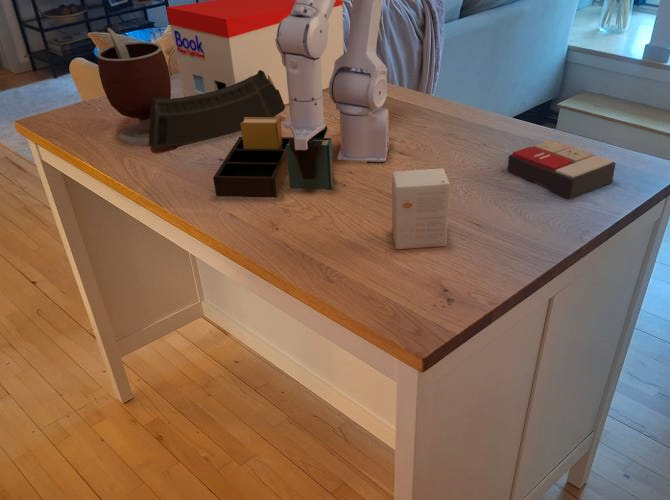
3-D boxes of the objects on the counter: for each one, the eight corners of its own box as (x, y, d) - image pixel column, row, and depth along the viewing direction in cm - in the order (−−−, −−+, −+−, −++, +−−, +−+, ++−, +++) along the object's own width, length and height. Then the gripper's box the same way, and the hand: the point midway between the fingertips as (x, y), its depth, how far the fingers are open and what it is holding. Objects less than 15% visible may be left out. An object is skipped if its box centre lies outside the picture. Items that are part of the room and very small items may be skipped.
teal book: (333, 183, 120) (331, 137, 115) (331, 191, 118) (328, 145, 112) (293, 182, 121) (289, 137, 116) (290, 190, 119) (285, 145, 113)
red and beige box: (551, 136, 123) (617, 158, 112) (548, 159, 126) (613, 182, 115) (507, 151, 119) (572, 175, 108) (505, 174, 121) (568, 199, 111)
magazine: (132, 113, 127) (260, 38, 132) (127, 108, 129) (253, 35, 135) (174, 185, 140) (289, 114, 145) (168, 180, 142) (282, 110, 147)
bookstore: (183, 103, 158) (165, 7, 144) (288, 67, 177) (281, -21, 163) (239, 122, 146) (225, 19, 133) (345, 81, 165) (342, -13, 152)
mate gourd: (192, 134, 142) (173, 34, 129) (133, 152, 136) (107, 48, 123) (159, 116, 152) (139, 21, 139) (103, 132, 145) (76, 34, 133)
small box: (441, 229, 105) (445, 167, 99) (446, 247, 101) (451, 183, 94) (391, 232, 105) (391, 170, 99) (394, 250, 101) (395, 186, 94)
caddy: (296, 156, 130) (294, 137, 128) (277, 199, 116) (274, 178, 114) (242, 156, 132) (239, 136, 129) (216, 198, 118) (212, 177, 115)
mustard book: (284, 158, 129) (280, 117, 124) (281, 164, 127) (276, 123, 121) (249, 157, 130) (244, 117, 125) (245, 163, 127) (240, 122, 122)
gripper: (290, 82, 115) (296, 156, 124) (273, 111, 104) (281, 190, 113) (330, 82, 114) (333, 157, 123) (316, 111, 103) (321, 191, 112)
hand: (311, 173), depth 118 cm, fingers closed on teal book, 3 cm apart
